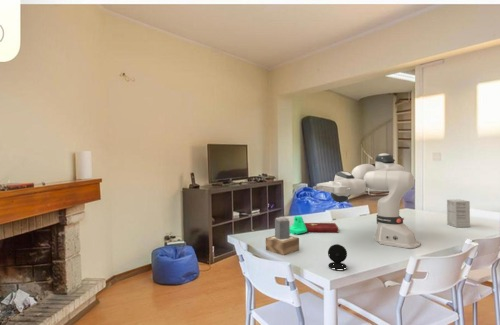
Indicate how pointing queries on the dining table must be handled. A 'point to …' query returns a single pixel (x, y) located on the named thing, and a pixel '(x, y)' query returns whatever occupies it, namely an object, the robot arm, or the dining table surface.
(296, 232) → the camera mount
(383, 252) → the dining table surface
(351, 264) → the dining table surface
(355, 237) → the dining table surface
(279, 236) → the block
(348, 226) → the dining table surface
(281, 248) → the stand
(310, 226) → the hardcover book
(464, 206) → the supplement box
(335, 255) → the webcam
